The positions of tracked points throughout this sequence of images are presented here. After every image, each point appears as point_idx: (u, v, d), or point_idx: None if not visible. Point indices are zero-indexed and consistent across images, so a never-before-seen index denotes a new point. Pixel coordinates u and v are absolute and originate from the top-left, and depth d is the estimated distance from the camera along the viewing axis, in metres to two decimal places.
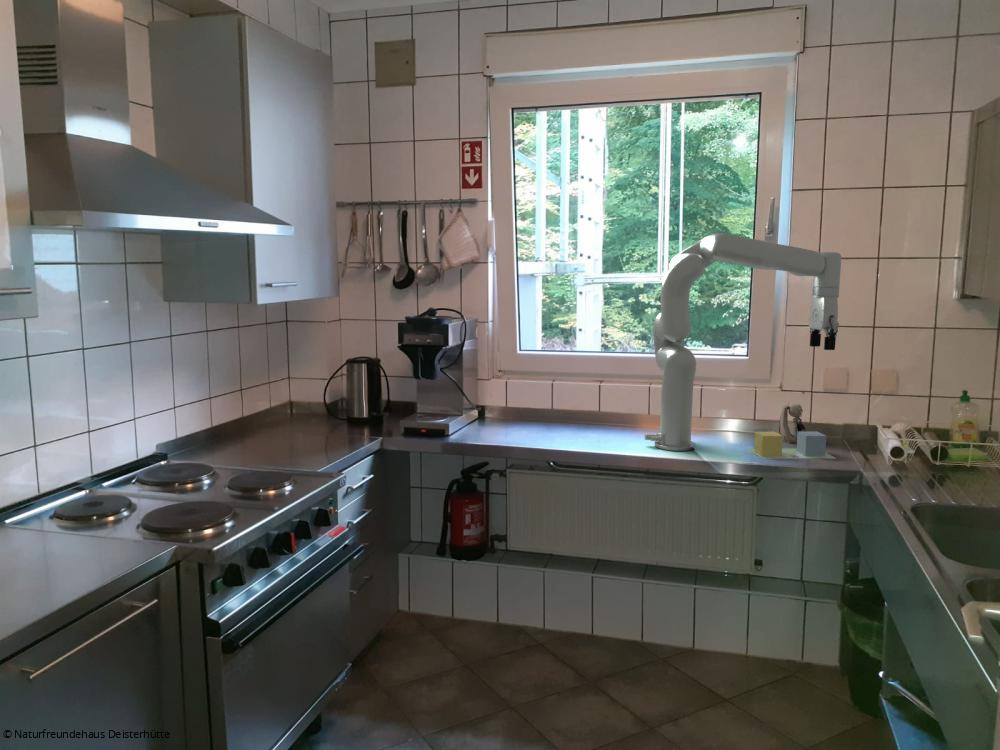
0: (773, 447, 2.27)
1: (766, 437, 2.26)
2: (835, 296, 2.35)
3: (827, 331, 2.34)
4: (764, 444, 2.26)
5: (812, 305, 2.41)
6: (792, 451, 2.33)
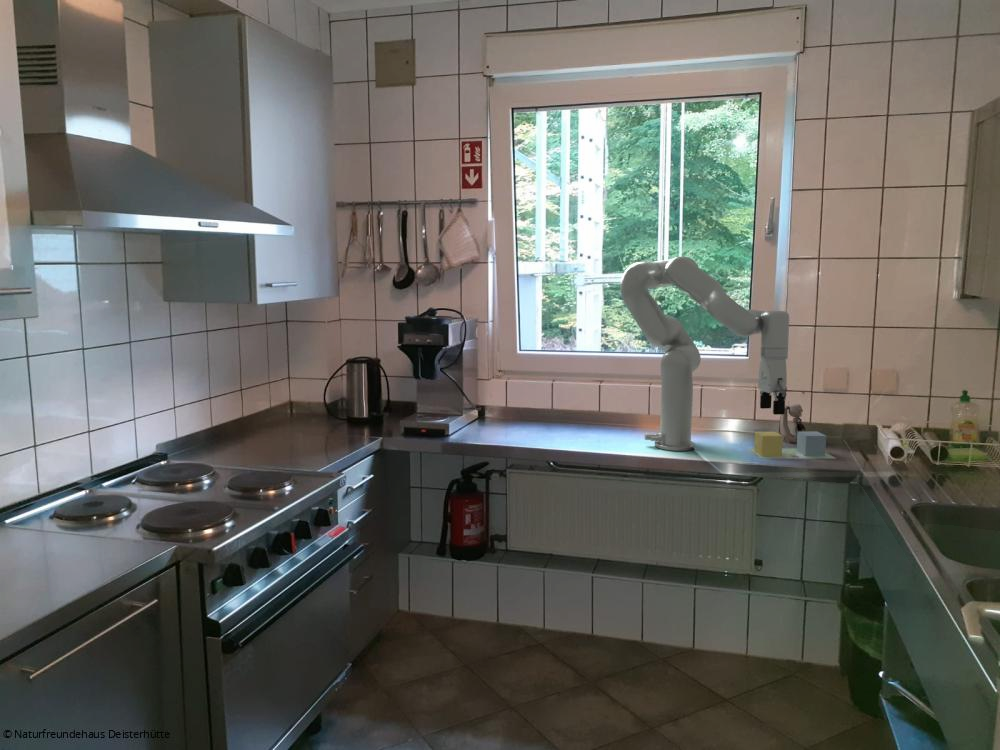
0: (773, 447, 2.27)
1: (766, 437, 2.26)
2: (783, 357, 2.22)
3: (776, 395, 2.22)
4: (764, 444, 2.26)
5: (761, 366, 2.29)
6: (792, 451, 2.33)
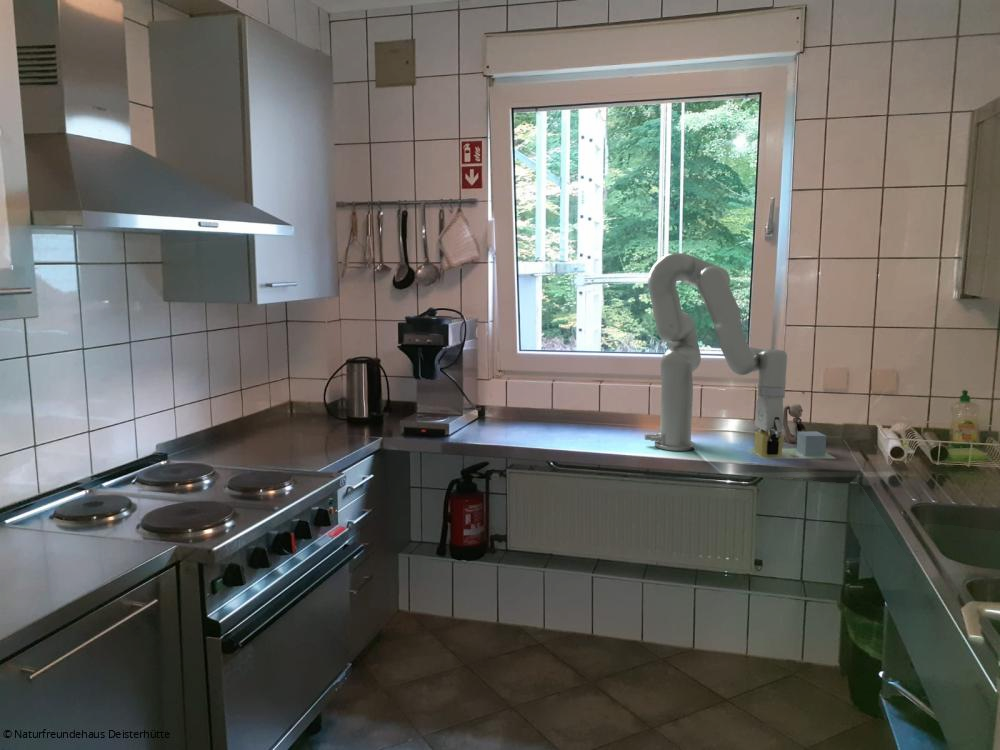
0: None
1: (766, 437, 2.26)
2: (780, 397, 2.24)
3: (770, 436, 2.25)
4: (764, 444, 2.26)
5: (758, 403, 2.30)
6: (792, 451, 2.33)
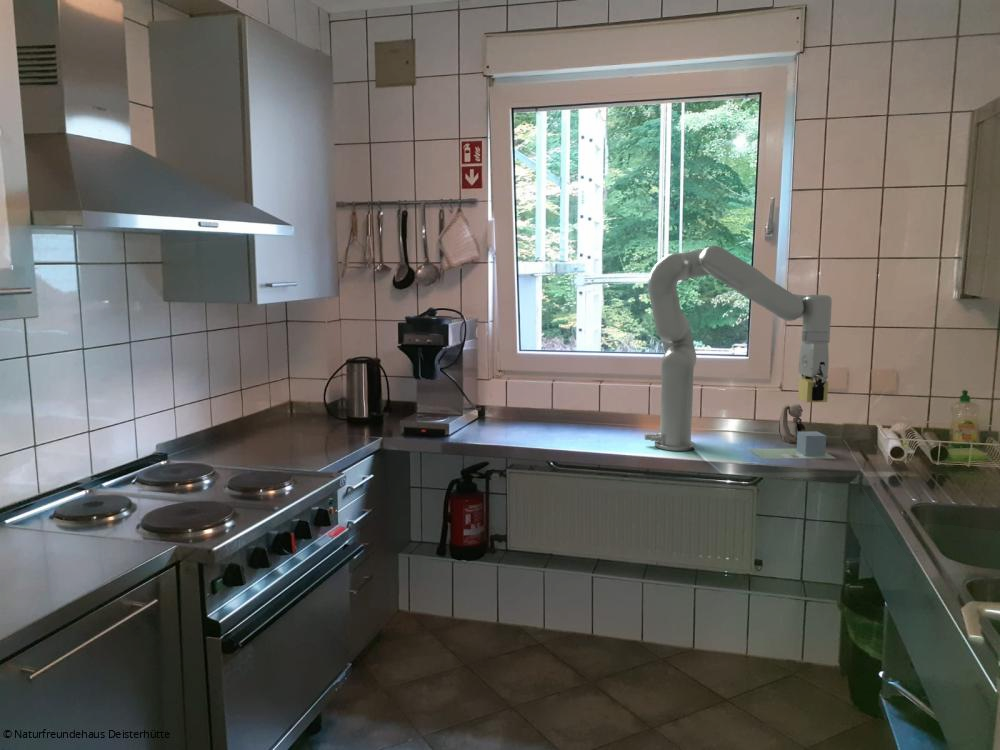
0: None
1: (811, 383, 2.24)
2: (825, 341, 2.22)
3: (815, 381, 2.23)
4: (810, 389, 2.24)
5: (802, 350, 2.29)
6: (792, 451, 2.33)
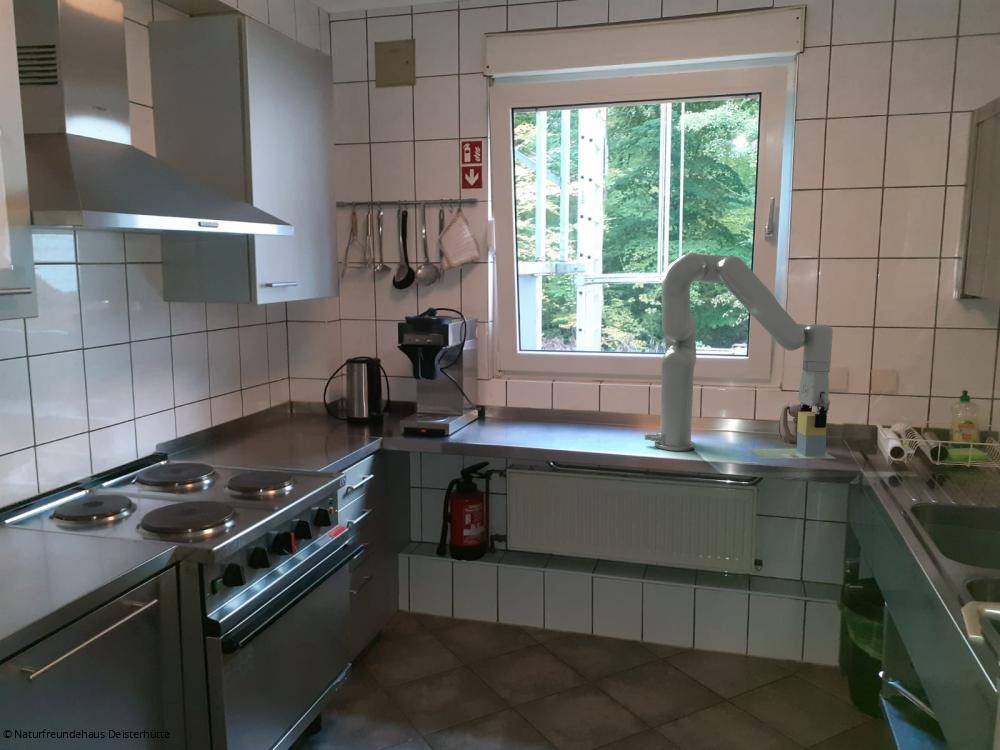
0: None
1: (810, 417, 2.26)
2: (826, 371, 2.24)
3: (818, 408, 2.23)
4: (808, 423, 2.26)
5: (802, 379, 2.30)
6: (792, 451, 2.33)
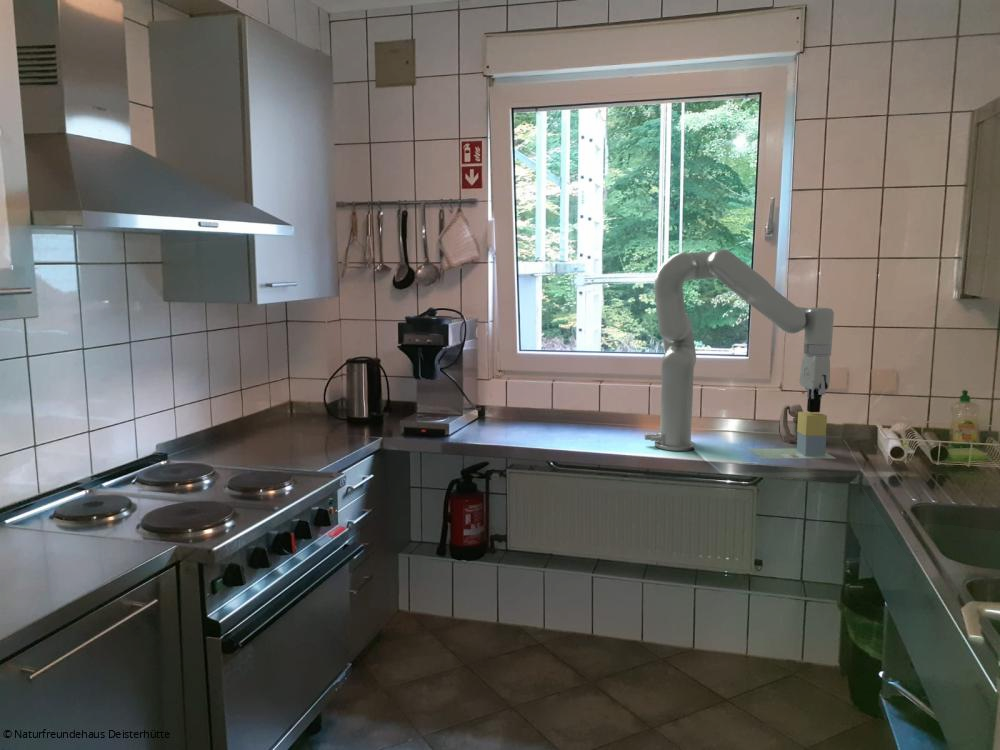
0: (817, 427, 2.26)
1: (810, 417, 2.26)
2: (827, 354, 2.23)
3: (813, 394, 2.26)
4: (808, 423, 2.26)
5: (803, 362, 2.29)
6: (792, 451, 2.33)
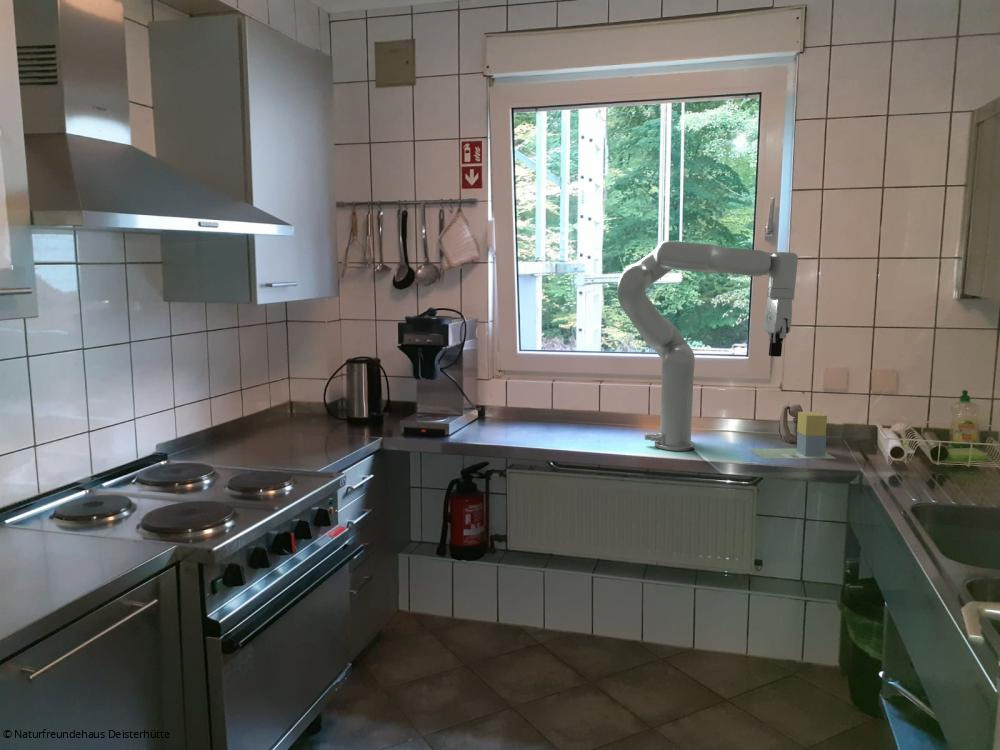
0: (817, 427, 2.26)
1: (810, 417, 2.26)
2: (790, 298, 2.25)
3: (775, 338, 2.29)
4: (808, 423, 2.26)
5: (767, 307, 2.32)
6: (792, 451, 2.33)
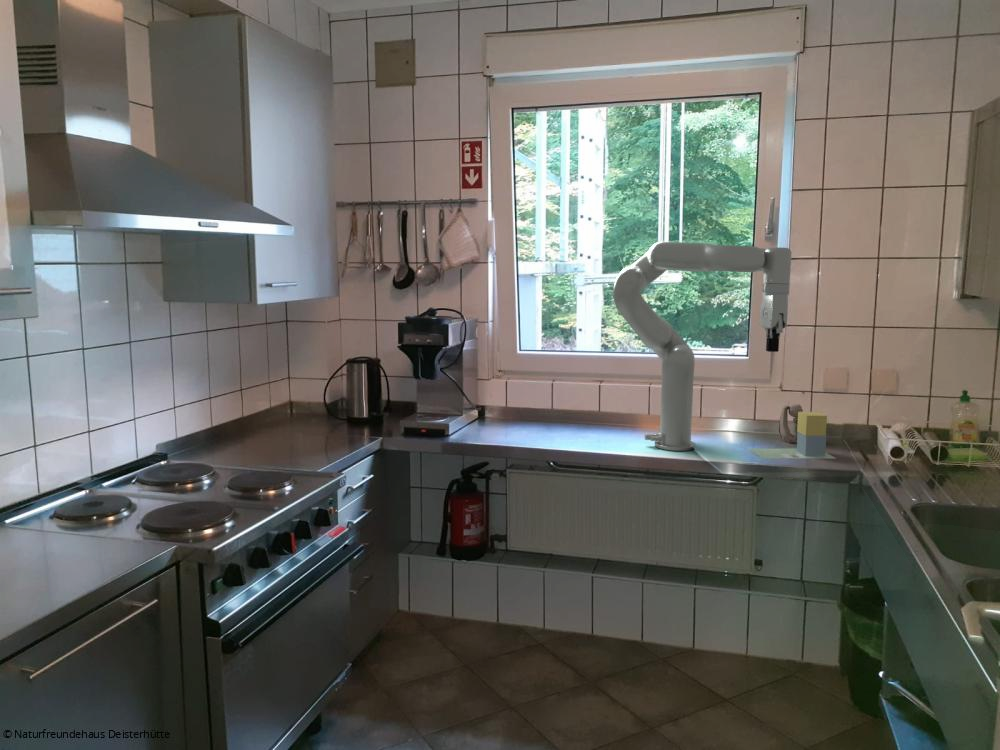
0: (817, 427, 2.26)
1: (810, 417, 2.26)
2: (785, 293, 2.26)
3: (771, 333, 2.29)
4: (808, 423, 2.26)
5: (762, 303, 2.32)
6: (792, 451, 2.33)
